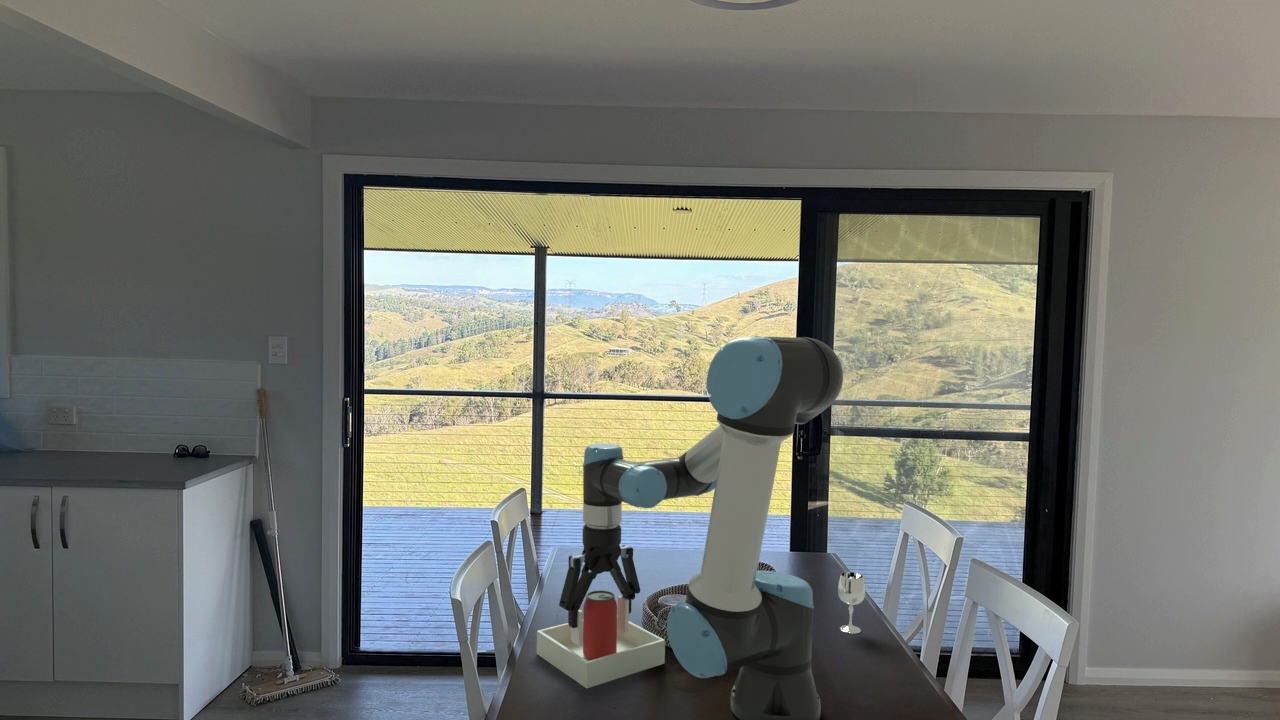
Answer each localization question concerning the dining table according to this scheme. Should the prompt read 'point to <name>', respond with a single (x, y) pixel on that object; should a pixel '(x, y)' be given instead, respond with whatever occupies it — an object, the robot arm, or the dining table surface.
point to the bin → (631, 657)
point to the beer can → (599, 624)
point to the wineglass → (851, 595)
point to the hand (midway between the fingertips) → (600, 636)
